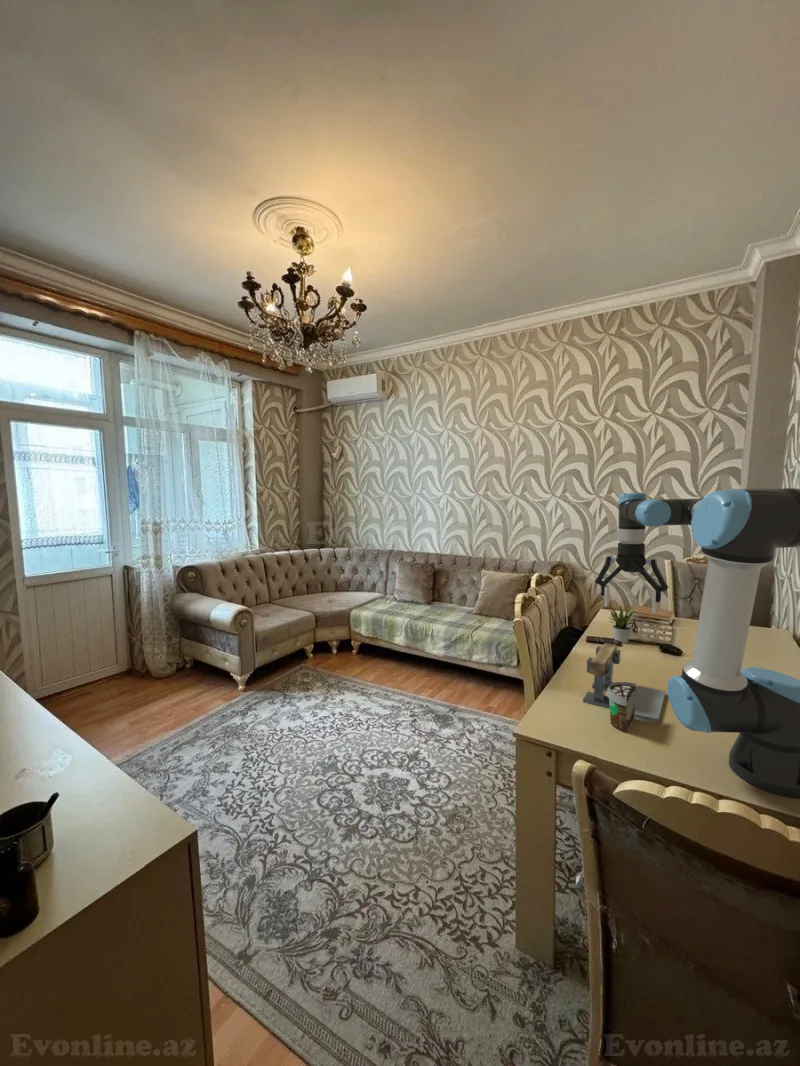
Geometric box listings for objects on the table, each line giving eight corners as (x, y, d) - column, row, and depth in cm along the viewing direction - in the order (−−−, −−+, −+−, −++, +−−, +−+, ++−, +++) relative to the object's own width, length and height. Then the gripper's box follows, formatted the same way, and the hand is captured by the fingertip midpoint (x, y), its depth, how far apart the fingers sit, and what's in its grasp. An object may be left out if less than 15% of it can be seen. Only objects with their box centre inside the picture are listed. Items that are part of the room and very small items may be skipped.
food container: (612, 710, 128) (612, 677, 127) (635, 716, 124) (636, 682, 123) (600, 728, 118) (601, 692, 117) (625, 735, 114) (626, 699, 113)
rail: (616, 655, 144) (616, 644, 144) (603, 676, 128) (603, 664, 128) (604, 653, 146) (604, 642, 146) (590, 673, 130) (590, 661, 130)
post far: (622, 687, 143) (623, 649, 142) (619, 693, 138) (620, 654, 137) (596, 681, 148) (597, 644, 147) (592, 687, 143) (592, 649, 142)
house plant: (644, 639, 188) (645, 602, 187) (642, 649, 177) (643, 609, 175) (608, 634, 196) (609, 598, 195) (604, 643, 184) (605, 605, 183)
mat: (657, 723, 120) (658, 719, 120) (625, 715, 125) (625, 711, 125) (665, 694, 137) (665, 691, 137) (636, 688, 142) (636, 685, 142)
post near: (615, 701, 133) (616, 660, 132) (611, 709, 128) (612, 667, 127) (587, 694, 138) (588, 655, 137) (583, 701, 133) (583, 661, 132)
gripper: (680, 543, 131) (677, 612, 133) (592, 539, 146) (591, 601, 148) (676, 545, 125) (674, 617, 127) (586, 541, 140) (584, 605, 142)
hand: (629, 609), depth 137 cm, fingers open, 13 cm apart
